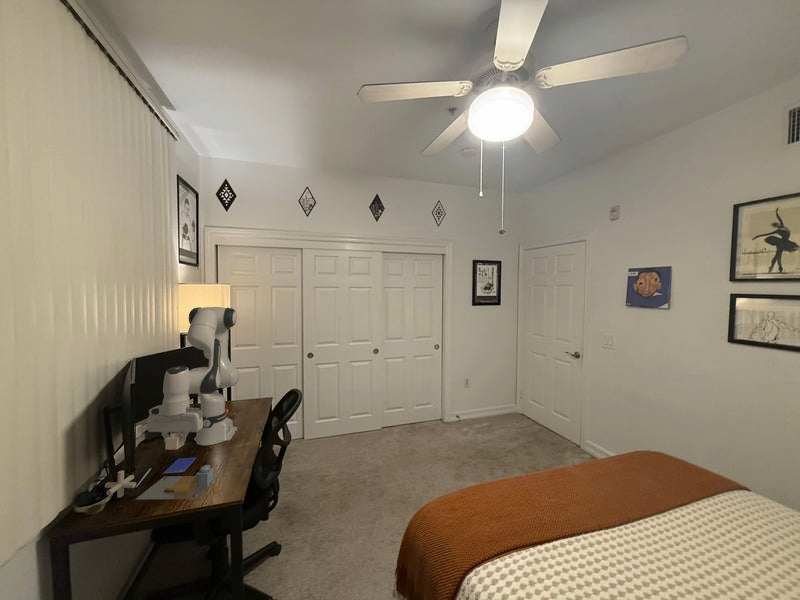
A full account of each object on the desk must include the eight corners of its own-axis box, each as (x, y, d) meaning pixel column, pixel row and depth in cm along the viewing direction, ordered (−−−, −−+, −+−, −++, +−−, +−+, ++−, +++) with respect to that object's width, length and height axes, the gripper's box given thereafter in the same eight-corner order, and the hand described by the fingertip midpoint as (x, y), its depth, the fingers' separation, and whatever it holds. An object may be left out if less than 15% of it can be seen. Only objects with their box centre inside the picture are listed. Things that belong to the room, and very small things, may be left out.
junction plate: (164, 478, 130) (164, 475, 130) (217, 477, 131) (217, 475, 131) (135, 501, 115) (135, 498, 115) (195, 500, 116) (196, 497, 116)
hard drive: (183, 471, 134) (196, 457, 146) (162, 473, 132) (177, 458, 144) (183, 475, 134) (196, 460, 146) (162, 476, 132) (177, 461, 144)
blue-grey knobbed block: (202, 478, 129) (203, 464, 129) (213, 478, 129) (213, 464, 129) (196, 484, 125) (196, 470, 125) (207, 484, 125) (207, 469, 125)
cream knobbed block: (173, 444, 127) (173, 429, 127) (184, 444, 127) (184, 429, 127) (165, 449, 122) (165, 434, 123) (176, 449, 123) (177, 434, 123)
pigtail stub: (168, 486, 123) (168, 476, 123) (196, 486, 123) (197, 476, 123) (158, 495, 118) (158, 484, 118) (188, 495, 118) (188, 484, 118)
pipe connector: (144, 490, 122) (144, 464, 122) (122, 507, 112) (123, 479, 112) (118, 490, 122) (118, 464, 121) (94, 507, 112) (94, 479, 112)
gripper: (206, 405, 129) (205, 438, 128) (156, 405, 128) (155, 438, 128) (197, 410, 122) (196, 445, 122) (144, 410, 122) (143, 445, 121)
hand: (175, 442), depth 125 cm, fingers closed on cream knobbed block, 4 cm apart
